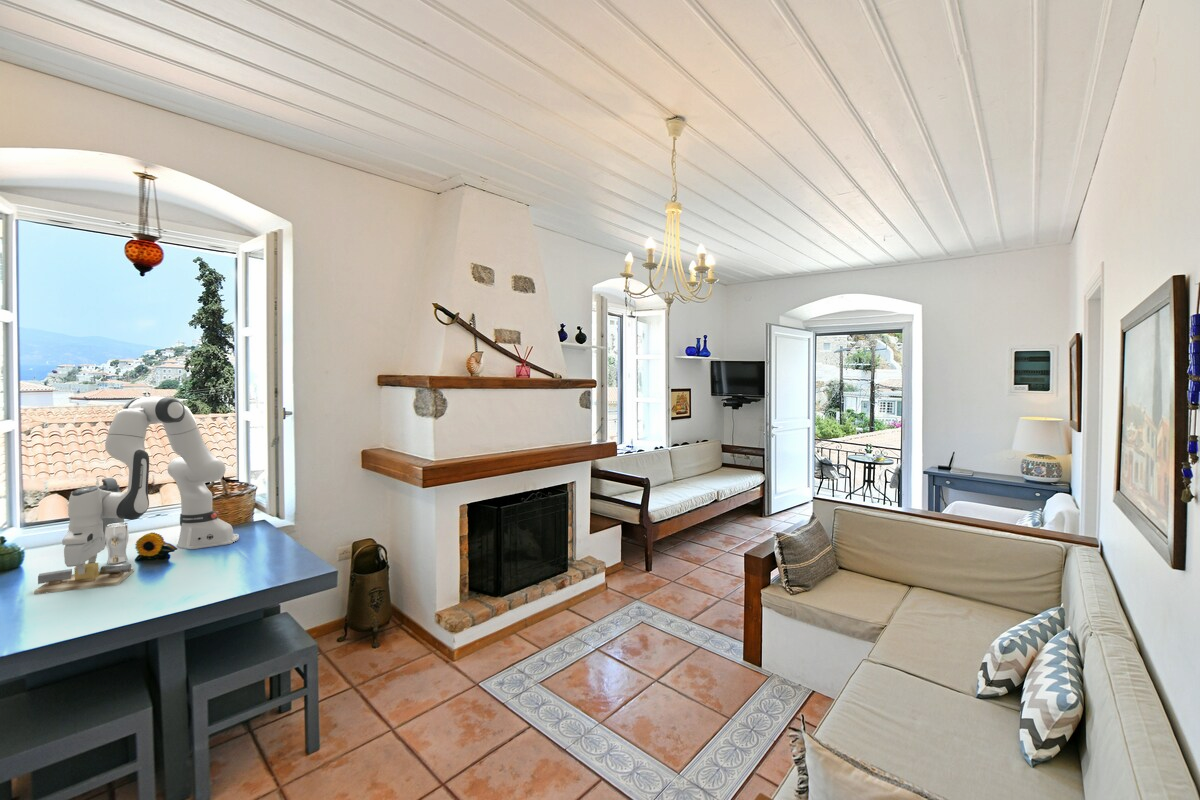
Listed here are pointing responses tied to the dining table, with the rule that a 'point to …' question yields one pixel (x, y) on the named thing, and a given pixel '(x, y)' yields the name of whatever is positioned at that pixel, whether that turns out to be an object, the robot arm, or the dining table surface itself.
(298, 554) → the dining table surface
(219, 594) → the dining table surface
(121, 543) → the beer glass
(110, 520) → the water bottle
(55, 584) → the board
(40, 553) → the dining table surface
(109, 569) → the shafts
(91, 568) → the yellow block
